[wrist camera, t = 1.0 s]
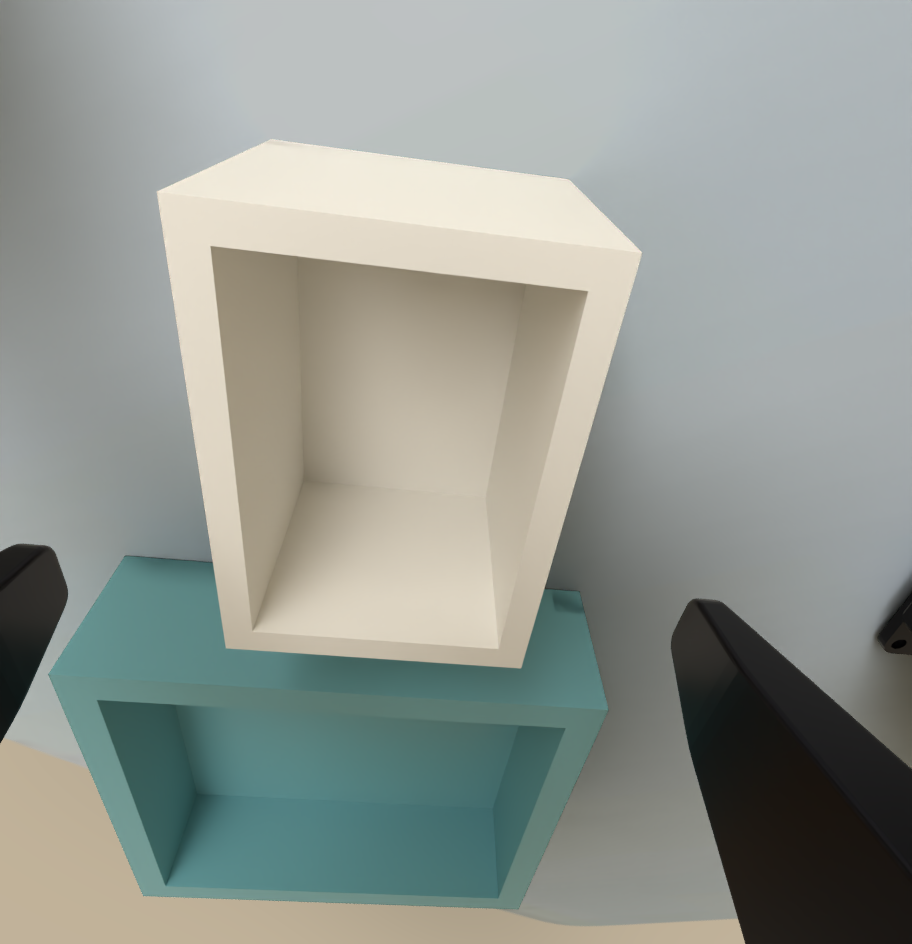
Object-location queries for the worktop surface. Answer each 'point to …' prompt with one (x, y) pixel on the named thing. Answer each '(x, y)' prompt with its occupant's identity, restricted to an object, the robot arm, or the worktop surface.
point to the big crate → (322, 753)
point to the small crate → (388, 392)
